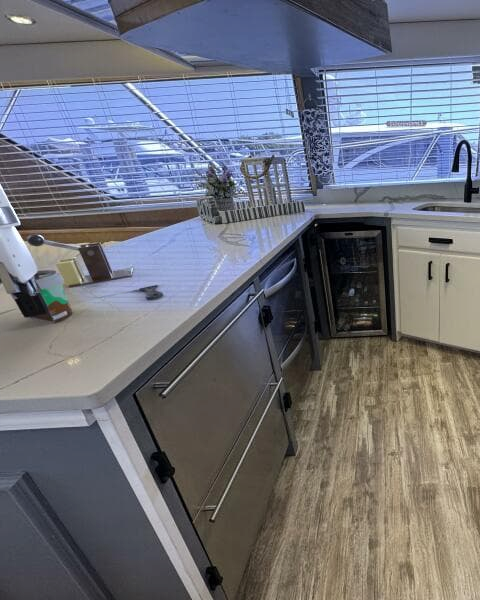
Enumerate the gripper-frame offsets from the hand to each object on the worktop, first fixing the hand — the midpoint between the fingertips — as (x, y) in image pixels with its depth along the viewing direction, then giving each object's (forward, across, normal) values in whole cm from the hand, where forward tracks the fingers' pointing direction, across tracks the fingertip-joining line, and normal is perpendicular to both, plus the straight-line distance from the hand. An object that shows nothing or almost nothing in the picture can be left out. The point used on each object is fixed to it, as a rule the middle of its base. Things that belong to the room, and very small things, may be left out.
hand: (37, 314), depth 63 cm
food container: (+5, -12, 0) cm, 13 cm away
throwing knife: (+5, -18, +17) cm, 25 cm away
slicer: (+4, -38, +6) cm, 39 cm away
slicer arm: (-6, -38, 0) cm, 38 cm away
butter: (+3, -38, 0) cm, 38 cm away
